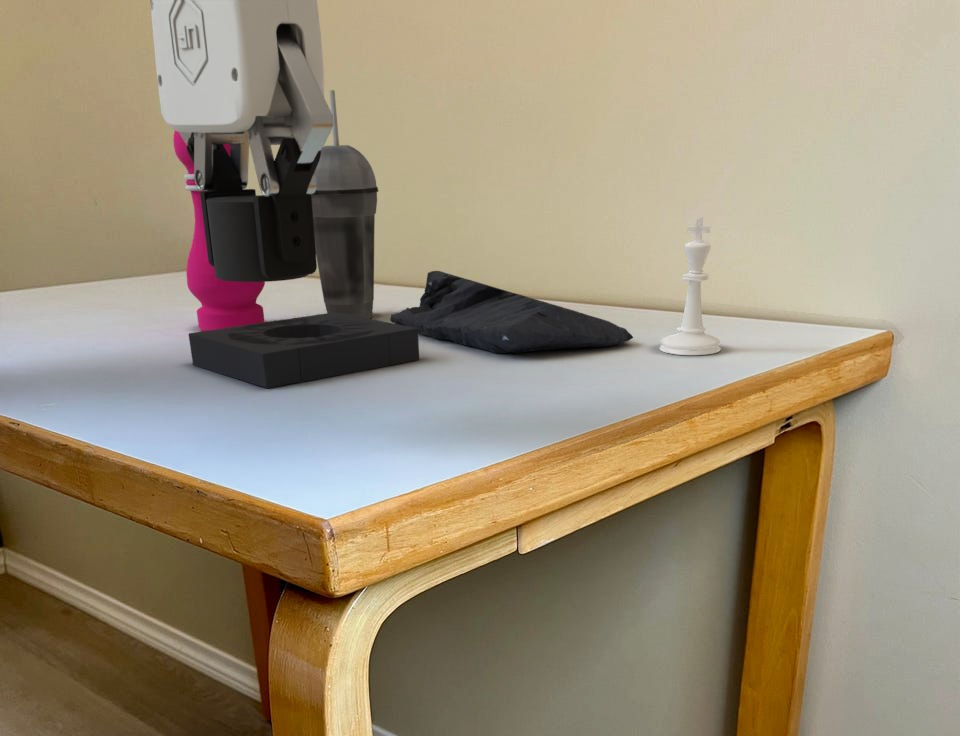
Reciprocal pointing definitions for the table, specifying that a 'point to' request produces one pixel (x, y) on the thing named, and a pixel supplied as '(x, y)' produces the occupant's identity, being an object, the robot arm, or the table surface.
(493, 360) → the table surface
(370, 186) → the beverage cup
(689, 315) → the chess piece
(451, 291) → the black fabric pouch
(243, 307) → the pepper mill
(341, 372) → the base pad
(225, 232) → the dark gray cylinder
